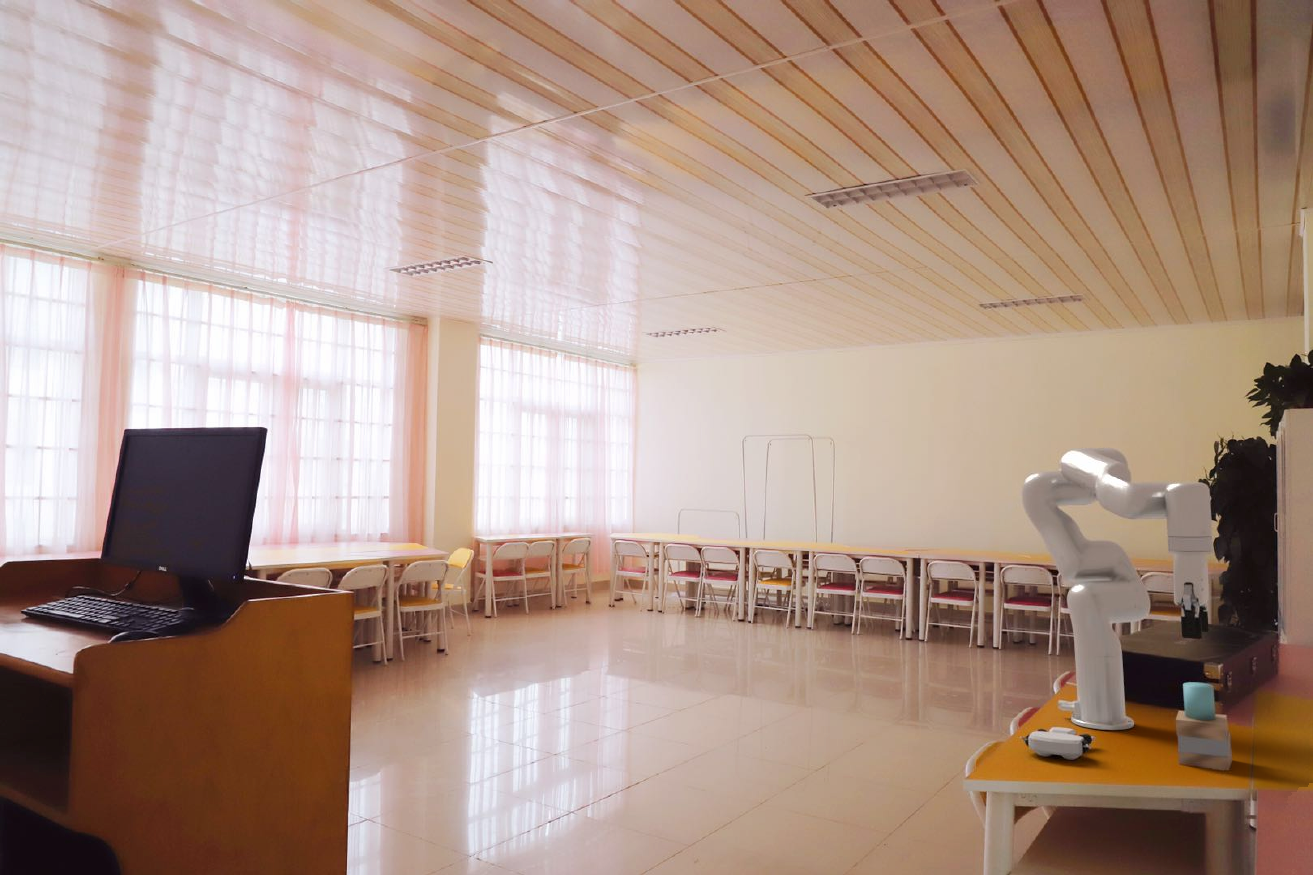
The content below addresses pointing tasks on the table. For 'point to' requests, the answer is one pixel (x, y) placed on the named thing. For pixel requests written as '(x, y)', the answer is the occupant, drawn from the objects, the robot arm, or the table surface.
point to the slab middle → (1204, 746)
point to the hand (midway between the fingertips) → (1195, 634)
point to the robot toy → (1058, 742)
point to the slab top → (1202, 727)
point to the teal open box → (1199, 701)
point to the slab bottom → (1205, 760)
